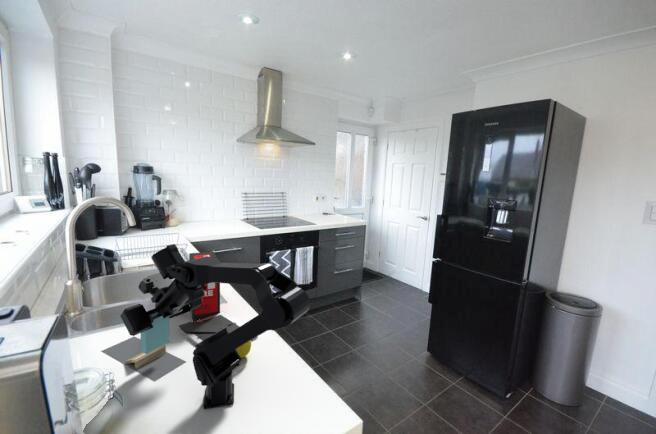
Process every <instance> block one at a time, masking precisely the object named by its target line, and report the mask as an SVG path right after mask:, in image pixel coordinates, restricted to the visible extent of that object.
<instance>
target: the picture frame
mask: <svg viewBox="0 0 656 434" xmlns="http://www.w3.org/2000/svg"><path fill="white" fill-rule="evenodd" d="M243 324H244V323H242V322H241V321H239V320H237V319H235V318H234V317H232V316H231V315H229V314H227V313H225V312H223V311H220V313H218V314H215V315H212V316H210V317H207V318H204V319H201V320H196V321H193V320H192V321H188V322H184V323H182V324H179V325H178V329H177V331H179V333H180V334H182V335H183V336H185V337H186V338H187V339H188V340H190V341H191V343H193V344H194V345H196V344H198V343H200V342H202V341H203V340H205V339H206V338H208V337H209V336H211V335H213V334H215V333H216V332H218V331H220V330H221V329H223V328H225V327H226V329H227V332H229V333H230V332H232V331H234V330H235V329H237V328H239V327H240V326H242V325H243ZM258 337H259V336H257V337H255V338H254V339H252V340H251V341H253V340H255V339H257V338H258Z"/></svg>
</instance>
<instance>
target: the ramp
mask: <svg viewBox="0 0 656 434" xmlns="http://www.w3.org/2000/svg"><path fill="white" fill-rule="evenodd" d="M166 347H167V346H166V344H165V345H163V346H161V347H159V348H157V349H155V350H153V351H151V352H149V353H147V354H145V353H141V354H139V355H137V356H135V357H133V358H131V359H129V360H127V361H126V363H127V364H128V363H133V362H135V368H136V369H138V368H140V367H142V366H143V365H145V364H147V363H149V362H151V361H153V360H154V359H156V358H158V357H160V356H162V355H164V354H165V353H166V352H167V351H166V349H167V348H166Z"/></svg>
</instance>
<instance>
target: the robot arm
mask: <svg viewBox="0 0 656 434" xmlns="http://www.w3.org/2000/svg"><path fill="white" fill-rule="evenodd" d="M151 260H152V262H153V264H154V265H155V267H156V268H157V270H158V273H154V274H151V275H150V274H149V275H147V277H143V278H142V280H141V281H140V282H139V284H138V289H139V291H140V292H141V293H143V295H146V294H150V295H151V296H152V297H151V298H150V300H151V302H152V304H154V308H153V309H152V308H151V309H149V310H146V308H145V306H144V305H143V304H141V303H138V304H134V305H132V306H129V307H127V308H124V309H123V311H122V312H121V313H120V315H119V317H120V318H121V320H122V322H123V325H124V326H125V328H126V330H127V331H128V334H129V336H132V337H136V336H137V335H139V334H141V332H144V331H147V330H149V329H151V328H153V325H152V323H153V321H154V319H157V318H159V317H162V316H163V318H164V319H165V318H167V317H169V319H172V318H175V317H179V316H182V315H184V314H187V313H188V312H192V311H191V310H193V309H195V308H198V307H199V306H200V305H201V304H202V297H203V296H204V291H203V288H202V287H201V286H200V285H204V284H208V283H220V284H229V285H242V286H243V285H244V286H250V287H252V288H253V290H254V291H255V295H256V298H257V302H258V303H257V304H258V305H259V307H260V308H261V311H260V312H259V314H258V315H256V316H254V317H253V318H251V319H250V320H248V321H246V322H245V323H242V324H243V325H242V326H240V327H239V328H237V329H235V330H234V331H232V332H230V333H229V332H227V329H226V327H225V328H223V329H221V330H220V331H218V332H216V333H215V334H213V335H211V336H209V337H208V338H206V339H205V340H203V341H202V342H200V343H198V344H196V345H195V344H194V345H195V347H196V348H195V349H193V352H192V355H193V357H192V363H193V364H192V365H193V367H194V370H195V375H196V380H197V381H200V383H201V384H200V385H201V386H203V387H206V388H205V391H204V392H205V393H204V398H203V404H202V408H203V409H204V410H205V409H211V408H212V409H213V408H217V407H222V406H224V407H225V406H229V405H233V404H234V403H235V383H234V382H233V371H234V370H236V369H237V368H238V367H240V365H241V363H242V358H241V357H240V356H239V354H238V352H237V351H236V349H237V348H238V347H240V346H242V345H243V344H245V343H247V342H249V341H250V340H251V341H253V340H255V339H256V338H255V337H257V336H258V337H259V336H260V335H263V334H264V333H266V332H268V331H278V330H282V329H284V328H285V329H286V328H287V327H289V326H290V325H291V324H293V323H294V322H295V321H297V320H298V319H300V318H302V316H304V314H306V313H307V312H308V311H309V310H310V304H311V302H310V298H309V295H308V293H307V292H306V291H305V290H304V289H303V288H302V287H300V286H299V285H298V284H297V282H296V281H295V280H294V279H292V278H291V277H289V276H287V275H285V274H284V273H282V272H280V271H279V270H278V269H277V267H275V266H274V264H272V263H269V262H264V263H245V262H222V261H220V260H219V259H218V258H217V259H216V258H212V257H208V256H206V257H202V258H198V259H194V260H185V259H184V257H183V256H182V254H181V253H180V250H179V249H178V247H177V245H176V244H175V243H173V244H168V245H166V247H164V248H162V249H160V250H158V251H156V253H153V254H152V256H151ZM269 285H270V286H272V287H274V288H276V289H277V290H280V291H281V292H282V293H281V294H278V295H277V296H275V295H273V294H272V292H271V290H270V287H269ZM158 313H159V314H158ZM155 314H156V315H155ZM153 315H154V316H153ZM258 337H257V338H258ZM254 338H255V339H254ZM252 339H253V340H252Z"/></svg>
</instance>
